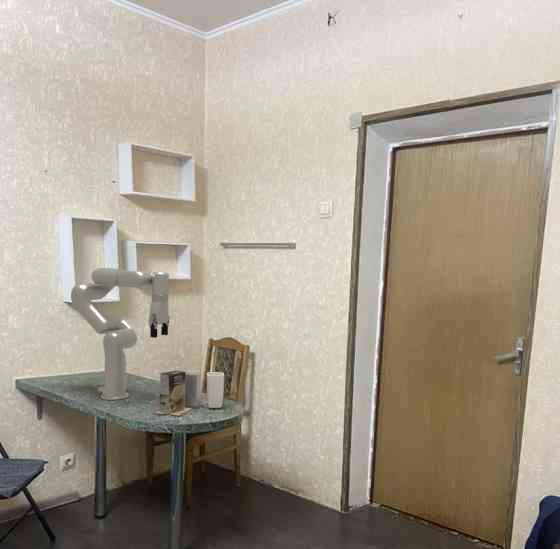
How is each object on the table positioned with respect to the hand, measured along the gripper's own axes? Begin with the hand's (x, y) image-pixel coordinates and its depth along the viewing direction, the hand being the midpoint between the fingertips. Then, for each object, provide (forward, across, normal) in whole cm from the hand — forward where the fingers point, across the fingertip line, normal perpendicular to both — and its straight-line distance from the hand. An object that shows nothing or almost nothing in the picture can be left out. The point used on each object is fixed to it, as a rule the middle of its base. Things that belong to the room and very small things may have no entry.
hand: (159, 336), depth 222 cm
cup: (+30, 0, +28) cm, 41 cm away
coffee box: (+30, +12, +14) cm, 35 cm away
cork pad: (+30, +12, +14) cm, 36 cm away
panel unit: (+30, +2, +16) cm, 34 cm away
